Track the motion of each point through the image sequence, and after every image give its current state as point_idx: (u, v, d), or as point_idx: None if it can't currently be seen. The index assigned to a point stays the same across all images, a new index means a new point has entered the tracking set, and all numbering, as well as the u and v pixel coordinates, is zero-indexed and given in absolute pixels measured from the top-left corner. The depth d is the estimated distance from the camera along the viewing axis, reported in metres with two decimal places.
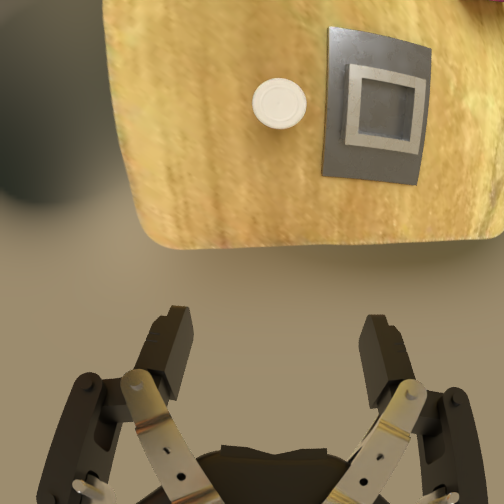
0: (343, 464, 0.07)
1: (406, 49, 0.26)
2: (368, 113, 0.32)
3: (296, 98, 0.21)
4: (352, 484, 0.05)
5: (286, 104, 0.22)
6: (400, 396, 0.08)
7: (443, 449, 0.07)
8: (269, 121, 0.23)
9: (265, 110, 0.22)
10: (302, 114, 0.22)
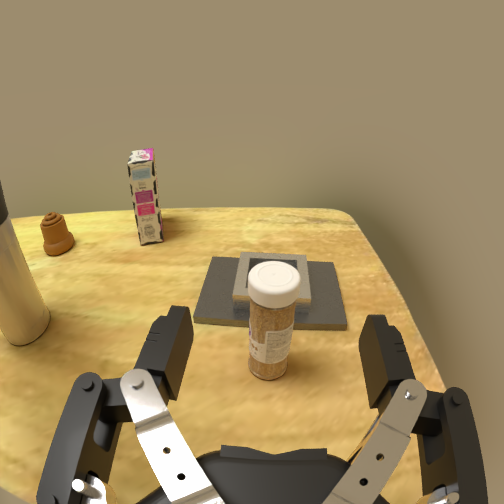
0: (343, 464, 0.07)
1: (215, 270, 0.46)
2: None
3: (268, 264, 0.26)
4: (352, 484, 0.05)
5: (275, 270, 0.26)
6: (400, 396, 0.08)
7: (443, 449, 0.07)
8: (293, 281, 0.24)
9: (281, 283, 0.24)
10: None
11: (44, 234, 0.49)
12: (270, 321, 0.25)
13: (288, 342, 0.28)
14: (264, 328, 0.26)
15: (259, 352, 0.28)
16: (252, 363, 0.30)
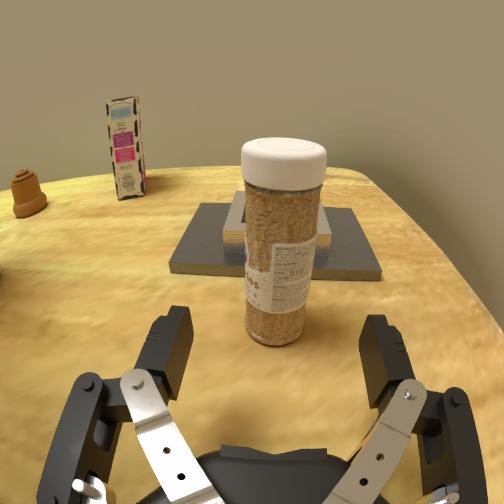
0: (343, 464, 0.07)
1: (203, 215, 0.36)
2: None
3: (274, 138, 0.16)
4: (352, 484, 0.05)
5: (285, 142, 0.15)
6: (400, 396, 0.08)
7: (443, 449, 0.07)
8: (315, 149, 0.14)
9: (296, 149, 0.14)
10: (297, 139, 0.16)
11: (13, 192, 0.39)
12: (280, 221, 0.15)
13: (308, 274, 0.18)
14: (270, 239, 0.16)
15: (261, 292, 0.18)
16: (250, 317, 0.20)
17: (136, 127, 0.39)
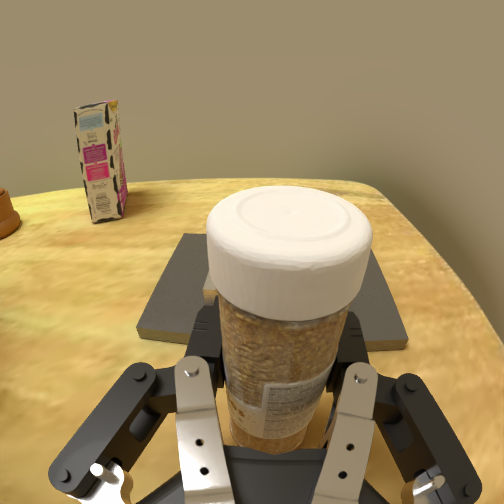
0: (315, 462, 0.07)
1: (185, 252, 0.29)
2: None
3: (272, 190, 0.09)
4: (332, 480, 0.06)
5: (292, 202, 0.08)
6: (350, 382, 0.09)
7: (410, 433, 0.08)
8: (354, 229, 0.07)
9: (317, 232, 0.07)
10: (314, 190, 0.09)
11: None
12: (278, 358, 0.08)
13: (319, 397, 0.11)
14: (260, 377, 0.09)
15: (248, 421, 0.11)
16: (236, 430, 0.13)
17: (109, 138, 0.32)
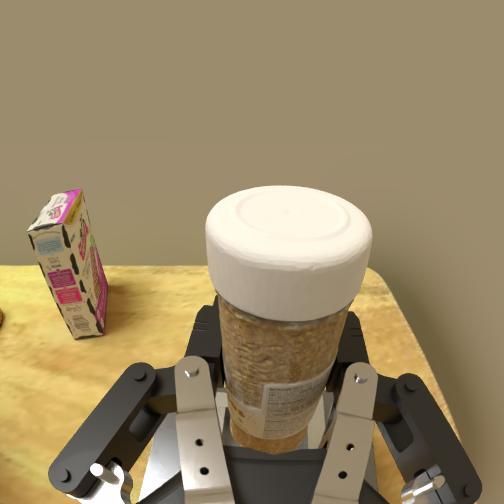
0: (315, 462, 0.07)
1: (172, 413, 0.24)
2: None
3: (271, 190, 0.09)
4: (332, 480, 0.06)
5: (291, 202, 0.08)
6: (350, 382, 0.09)
7: (410, 433, 0.08)
8: (354, 229, 0.07)
9: (317, 232, 0.07)
10: (313, 190, 0.09)
11: None
12: (278, 359, 0.08)
13: (319, 398, 0.11)
14: (260, 377, 0.09)
15: (248, 421, 0.11)
16: (236, 430, 0.13)
17: (74, 263, 0.28)
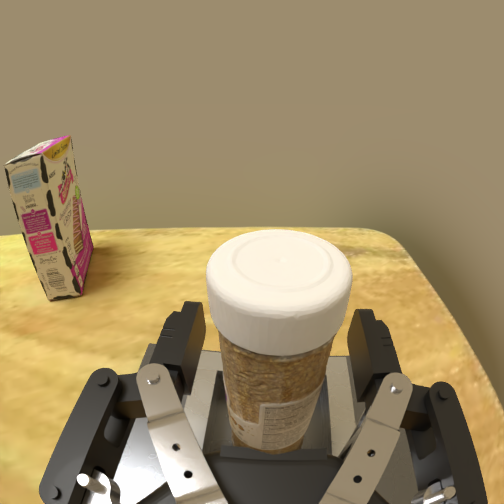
0: (334, 463, 0.07)
1: None
2: None
3: (264, 236, 0.10)
4: (346, 482, 0.05)
5: (281, 249, 0.09)
6: (385, 390, 0.08)
7: (434, 443, 0.08)
8: (335, 276, 0.08)
9: (301, 281, 0.08)
10: (302, 233, 0.11)
11: None
12: (271, 384, 0.09)
13: (311, 413, 0.12)
14: (256, 398, 0.10)
15: (247, 434, 0.12)
16: (237, 442, 0.14)
17: (50, 202, 0.23)
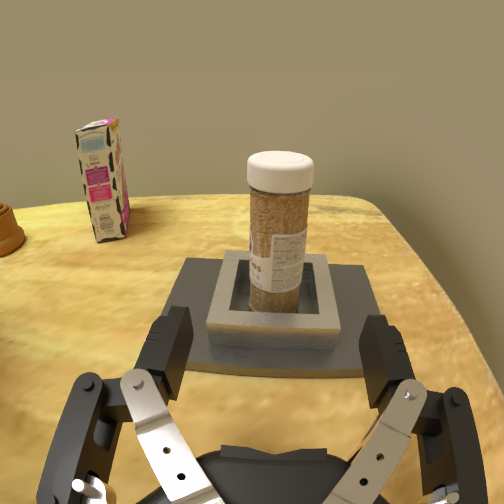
0: (343, 464, 0.07)
1: (187, 278, 0.30)
2: None
3: (273, 152, 0.20)
4: (352, 484, 0.05)
5: (281, 155, 0.20)
6: (400, 396, 0.08)
7: (443, 449, 0.07)
8: (304, 161, 0.19)
9: (290, 161, 0.18)
10: (291, 152, 0.21)
11: None
12: (277, 217, 0.19)
13: (301, 260, 0.22)
14: (270, 231, 0.20)
15: (263, 274, 0.22)
16: (254, 297, 0.25)
17: (111, 161, 0.33)
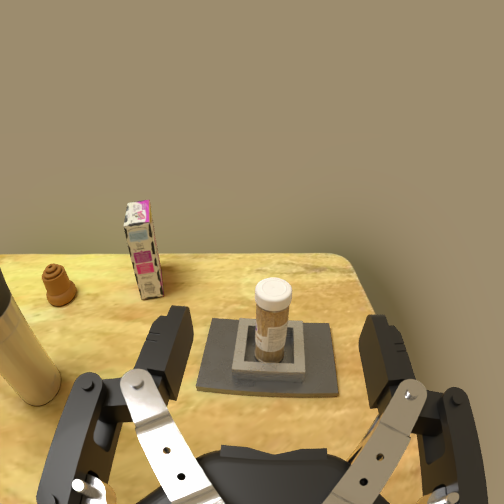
0: (343, 464, 0.07)
1: (215, 334, 0.47)
2: None
3: (269, 280, 0.37)
4: (352, 484, 0.05)
5: (274, 284, 0.36)
6: (400, 396, 0.08)
7: (443, 449, 0.07)
8: (286, 292, 0.35)
9: (278, 294, 0.35)
10: None
11: (46, 286, 0.50)
12: (271, 320, 0.36)
13: (284, 335, 0.39)
14: (267, 325, 0.37)
15: (262, 343, 0.39)
16: (257, 352, 0.41)
17: (153, 247, 0.50)
